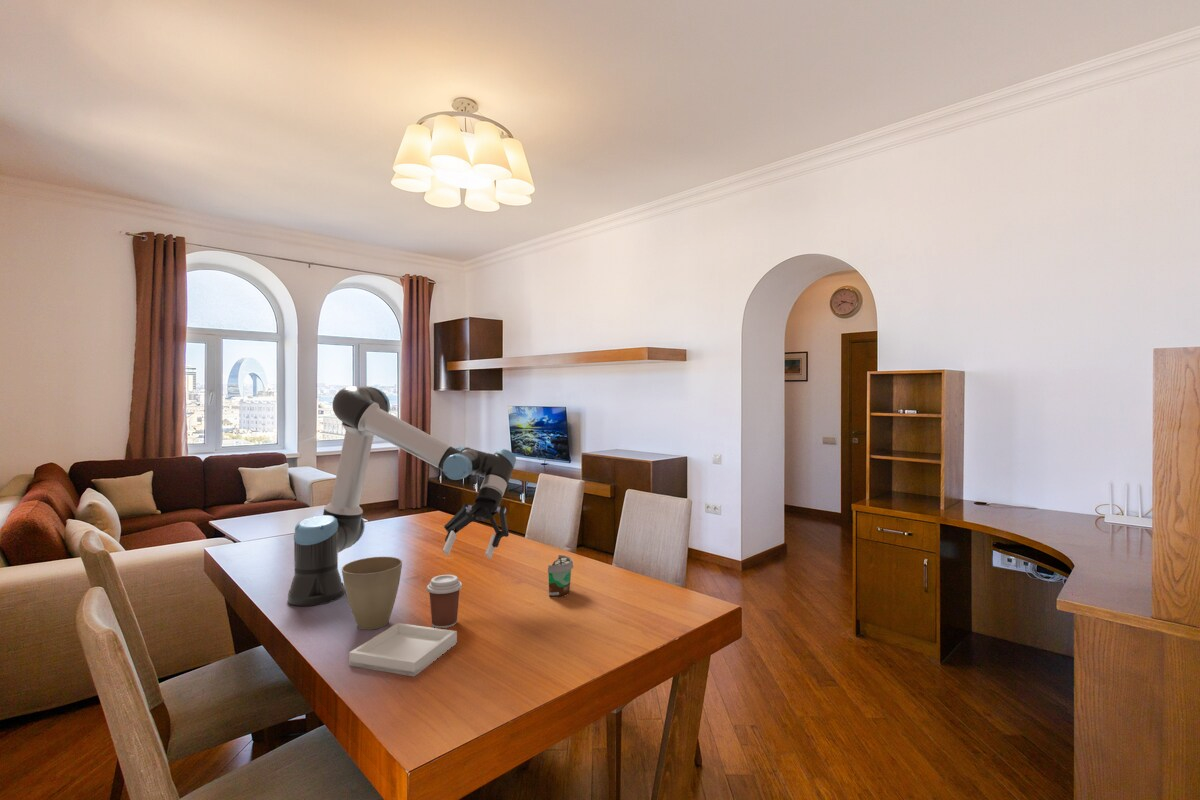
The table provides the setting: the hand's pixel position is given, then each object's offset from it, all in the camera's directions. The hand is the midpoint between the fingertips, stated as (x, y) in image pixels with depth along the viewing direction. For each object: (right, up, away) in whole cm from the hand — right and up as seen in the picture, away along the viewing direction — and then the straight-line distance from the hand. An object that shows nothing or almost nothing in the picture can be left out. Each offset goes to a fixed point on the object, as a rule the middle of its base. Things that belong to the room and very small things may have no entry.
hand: (466, 554), depth 158 cm
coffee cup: (-3, -16, -10) cm, 19 cm away
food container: (+27, -16, +13) cm, 34 cm away
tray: (-8, -16, -28) cm, 33 cm away
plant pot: (-22, -16, -11) cm, 29 cm away
